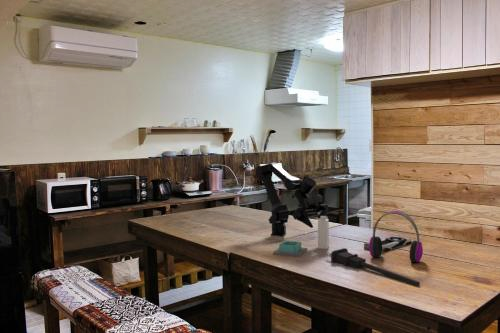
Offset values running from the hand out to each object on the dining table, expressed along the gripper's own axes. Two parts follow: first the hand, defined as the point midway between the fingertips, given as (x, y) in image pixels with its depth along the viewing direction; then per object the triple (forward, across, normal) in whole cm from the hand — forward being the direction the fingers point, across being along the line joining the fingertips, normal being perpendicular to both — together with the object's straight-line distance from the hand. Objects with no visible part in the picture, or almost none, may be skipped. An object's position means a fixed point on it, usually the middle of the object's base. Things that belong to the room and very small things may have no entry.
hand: (319, 226), depth 196 cm
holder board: (+6, -16, +8) cm, 19 cm away
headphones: (+31, +10, -17) cm, 37 cm away
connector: (+8, 0, +5) cm, 10 cm away
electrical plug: (+33, -9, -18) cm, 39 cm away
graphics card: (+21, +25, -6) cm, 33 cm away
